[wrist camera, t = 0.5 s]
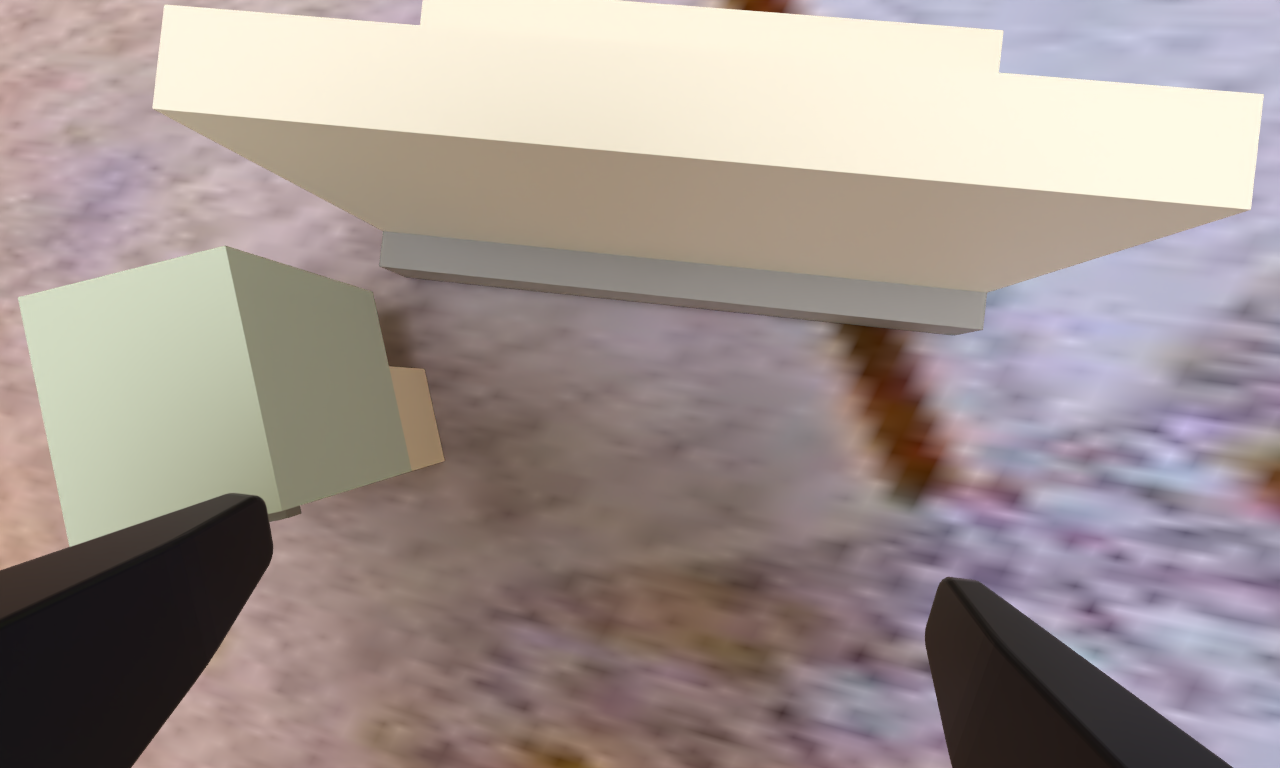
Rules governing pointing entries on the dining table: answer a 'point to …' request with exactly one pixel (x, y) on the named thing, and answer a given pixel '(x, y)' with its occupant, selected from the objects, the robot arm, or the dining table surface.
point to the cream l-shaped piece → (708, 151)
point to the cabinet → (218, 390)
